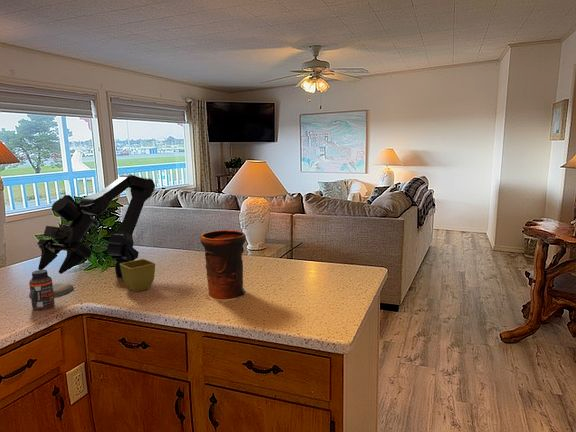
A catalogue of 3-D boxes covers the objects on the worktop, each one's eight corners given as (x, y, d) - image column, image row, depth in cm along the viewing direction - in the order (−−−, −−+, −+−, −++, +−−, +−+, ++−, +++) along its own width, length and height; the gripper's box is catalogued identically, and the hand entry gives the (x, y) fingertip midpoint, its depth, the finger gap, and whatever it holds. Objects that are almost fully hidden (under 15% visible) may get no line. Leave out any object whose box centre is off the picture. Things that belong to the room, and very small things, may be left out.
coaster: (74, 282, 146) (74, 280, 146) (72, 294, 134) (72, 292, 134) (32, 288, 141) (31, 286, 140) (26, 301, 129) (26, 299, 129)
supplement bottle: (44, 311, 121) (39, 275, 119) (27, 310, 122) (22, 274, 120) (59, 303, 127) (55, 268, 125) (43, 302, 128) (38, 268, 126)
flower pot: (146, 282, 145) (144, 258, 143) (157, 288, 139) (155, 262, 137) (121, 289, 139) (119, 263, 137) (132, 295, 133) (130, 268, 131)
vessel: (198, 289, 137) (196, 231, 133) (239, 283, 142) (238, 227, 139) (207, 304, 124) (205, 240, 120) (252, 298, 129) (251, 236, 126)
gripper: (39, 213, 131) (8, 255, 123) (80, 217, 124) (50, 261, 116) (64, 232, 140) (37, 272, 132) (103, 236, 132) (77, 279, 124)
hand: (49, 271), depth 126 cm, fingers open, 9 cm apart
